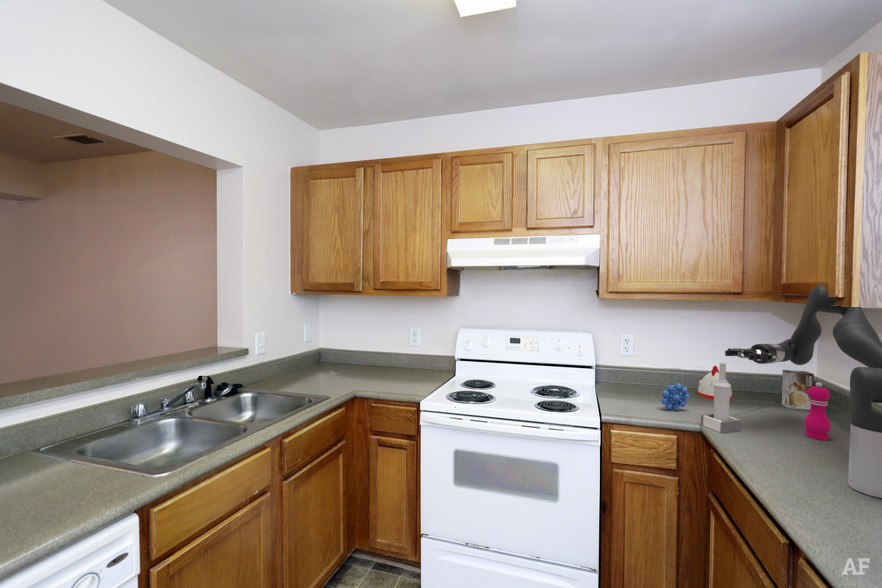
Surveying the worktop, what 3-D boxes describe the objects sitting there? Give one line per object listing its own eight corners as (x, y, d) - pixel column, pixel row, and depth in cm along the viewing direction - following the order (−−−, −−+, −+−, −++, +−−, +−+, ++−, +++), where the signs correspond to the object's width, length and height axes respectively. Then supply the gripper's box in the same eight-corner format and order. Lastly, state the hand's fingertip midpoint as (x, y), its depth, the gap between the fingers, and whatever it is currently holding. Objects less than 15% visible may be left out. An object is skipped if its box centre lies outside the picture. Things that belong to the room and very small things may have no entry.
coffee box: (805, 406, 184) (806, 370, 183) (813, 410, 178) (815, 374, 177) (781, 404, 187) (782, 369, 186) (788, 408, 180) (789, 372, 180)
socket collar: (740, 430, 154) (741, 420, 153) (722, 433, 151) (723, 422, 151) (718, 422, 162) (718, 412, 162) (700, 424, 159) (701, 414, 159)
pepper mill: (801, 436, 148) (803, 381, 147) (805, 431, 153) (807, 378, 152) (828, 442, 143) (831, 385, 142) (832, 437, 147) (834, 382, 147)
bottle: (713, 424, 160) (715, 361, 159) (729, 427, 157) (731, 362, 156) (711, 428, 156) (713, 363, 155) (728, 431, 153) (730, 365, 152)
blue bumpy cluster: (684, 407, 181) (684, 381, 180) (692, 412, 174) (692, 385, 173) (656, 407, 182) (657, 380, 181) (663, 411, 175) (664, 384, 175)
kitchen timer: (693, 395, 200) (694, 365, 199) (702, 390, 209) (703, 361, 209) (727, 402, 190) (728, 370, 189) (735, 396, 199) (736, 366, 198)
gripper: (747, 341, 163) (719, 342, 158) (788, 346, 150) (758, 347, 145) (747, 359, 164) (718, 361, 158) (787, 366, 150) (757, 369, 145)
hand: (737, 355), depth 151 cm, fingers open, 8 cm apart
